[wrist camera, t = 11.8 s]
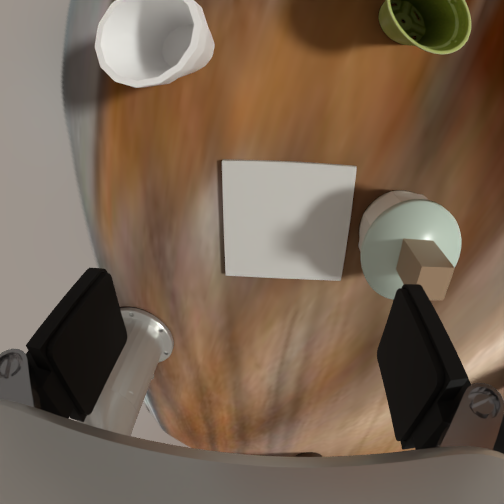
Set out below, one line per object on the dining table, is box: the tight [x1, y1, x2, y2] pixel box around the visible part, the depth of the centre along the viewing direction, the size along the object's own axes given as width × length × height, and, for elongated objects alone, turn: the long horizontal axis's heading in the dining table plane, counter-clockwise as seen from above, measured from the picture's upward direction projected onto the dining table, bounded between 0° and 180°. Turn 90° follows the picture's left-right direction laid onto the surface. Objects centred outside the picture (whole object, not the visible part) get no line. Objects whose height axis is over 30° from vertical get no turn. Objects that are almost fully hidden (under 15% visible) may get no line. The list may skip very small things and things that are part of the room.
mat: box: [222, 160, 357, 281], centre depth 41 cm, size 16×16×1 cm
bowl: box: [358, 190, 428, 251], centre depth 38 cm, size 11×11×6 cm
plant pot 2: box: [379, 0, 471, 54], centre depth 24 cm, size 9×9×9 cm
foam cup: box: [95, 0, 215, 88], centre depth 26 cm, size 10×9×13 cm
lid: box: [360, 199, 461, 300], centre depth 32 cm, size 13×13×7 cm
